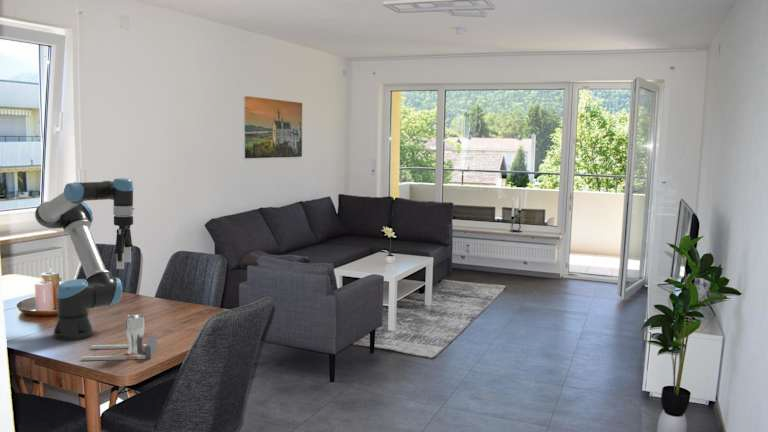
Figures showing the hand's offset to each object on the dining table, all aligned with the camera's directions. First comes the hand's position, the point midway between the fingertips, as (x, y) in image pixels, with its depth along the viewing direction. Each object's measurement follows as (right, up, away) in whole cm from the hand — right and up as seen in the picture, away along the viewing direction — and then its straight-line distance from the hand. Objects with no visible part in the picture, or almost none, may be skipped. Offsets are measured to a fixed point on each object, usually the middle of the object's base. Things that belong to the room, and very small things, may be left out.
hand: (124, 265), depth 268 cm
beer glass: (+10, -34, -14) cm, 38 cm away
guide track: (+4, -34, -15) cm, 37 cm away
